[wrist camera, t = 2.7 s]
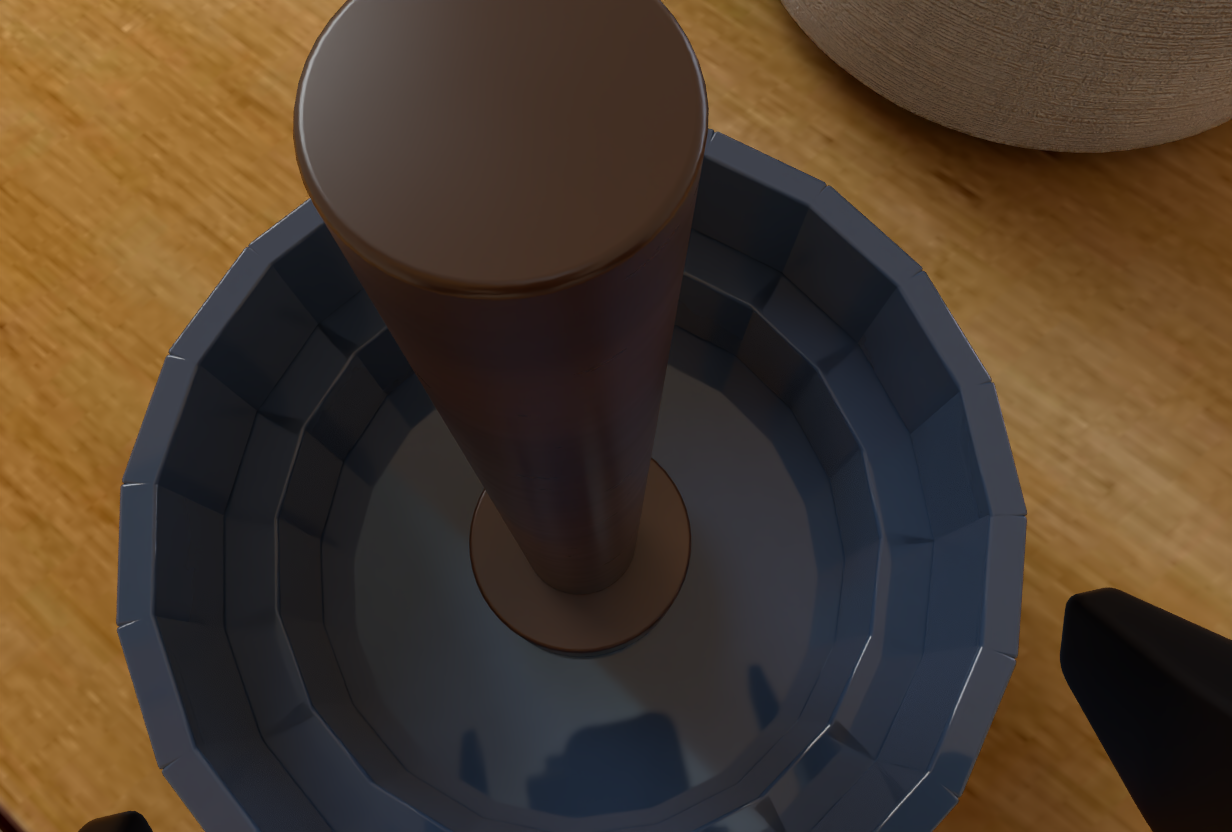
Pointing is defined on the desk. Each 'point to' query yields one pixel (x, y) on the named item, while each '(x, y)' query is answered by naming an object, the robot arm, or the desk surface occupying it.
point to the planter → (1039, 65)
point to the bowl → (572, 685)
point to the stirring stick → (526, 272)
